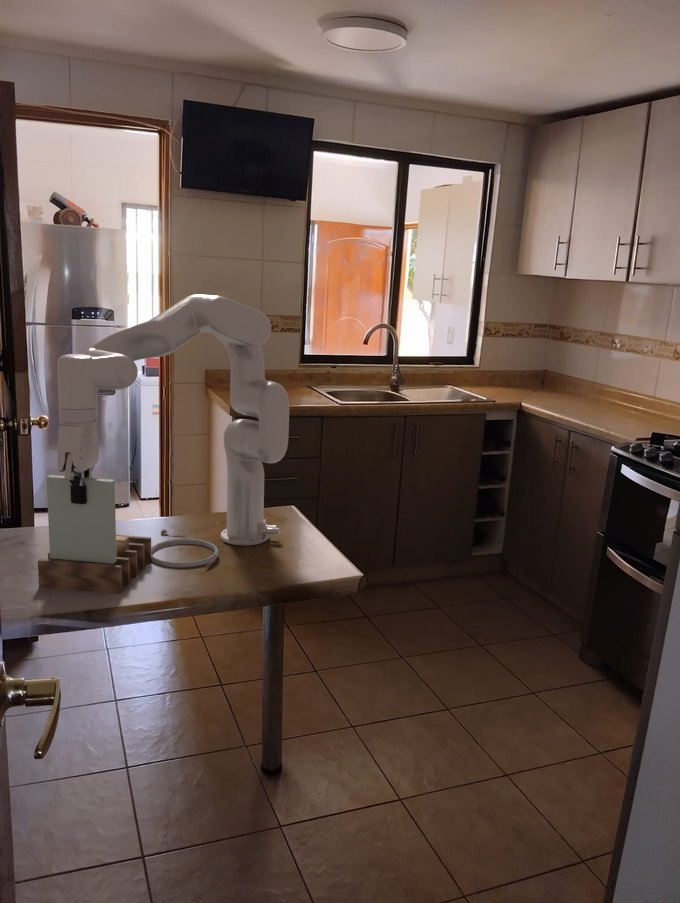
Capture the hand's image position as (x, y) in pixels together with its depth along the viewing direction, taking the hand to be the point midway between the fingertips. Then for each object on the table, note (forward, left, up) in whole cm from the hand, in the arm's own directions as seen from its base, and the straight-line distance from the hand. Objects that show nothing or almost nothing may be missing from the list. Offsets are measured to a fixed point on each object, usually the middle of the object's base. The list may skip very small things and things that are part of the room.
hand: (81, 501), depth 155 cm
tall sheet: (0, 0, -13) cm, 13 cm away
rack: (0, -7, -20) cm, 21 cm away
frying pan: (-12, -26, -21) cm, 36 cm away
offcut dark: (0, -9, -19) cm, 21 cm away
